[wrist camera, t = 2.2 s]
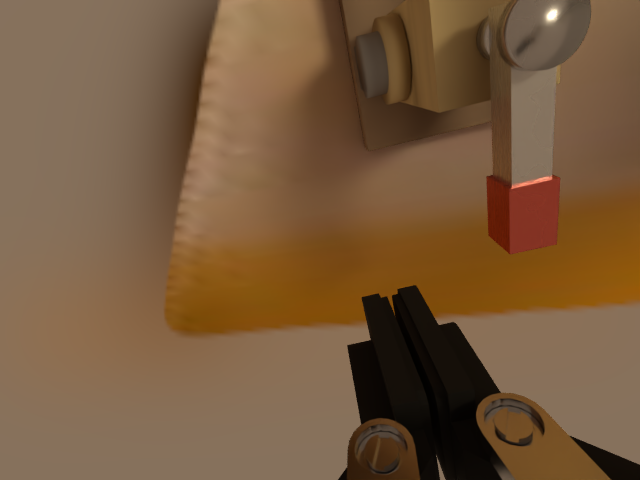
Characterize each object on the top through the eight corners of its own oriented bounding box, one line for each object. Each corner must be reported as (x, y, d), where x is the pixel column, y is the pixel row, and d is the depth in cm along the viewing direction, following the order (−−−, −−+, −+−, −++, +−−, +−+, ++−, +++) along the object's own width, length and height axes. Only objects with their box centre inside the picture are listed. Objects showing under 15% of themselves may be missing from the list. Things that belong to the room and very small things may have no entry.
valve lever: (464, 7, 14) (507, -12, 11) (532, -11, 14) (594, -35, 11) (476, 231, 18) (510, 262, 15) (528, 219, 18) (573, 248, 15)
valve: (507, -69, 20) (642, -167, 12) (508, 112, 24) (610, 130, 16) (335, -22, 21) (353, -85, 13) (364, 147, 25) (393, 181, 17)
